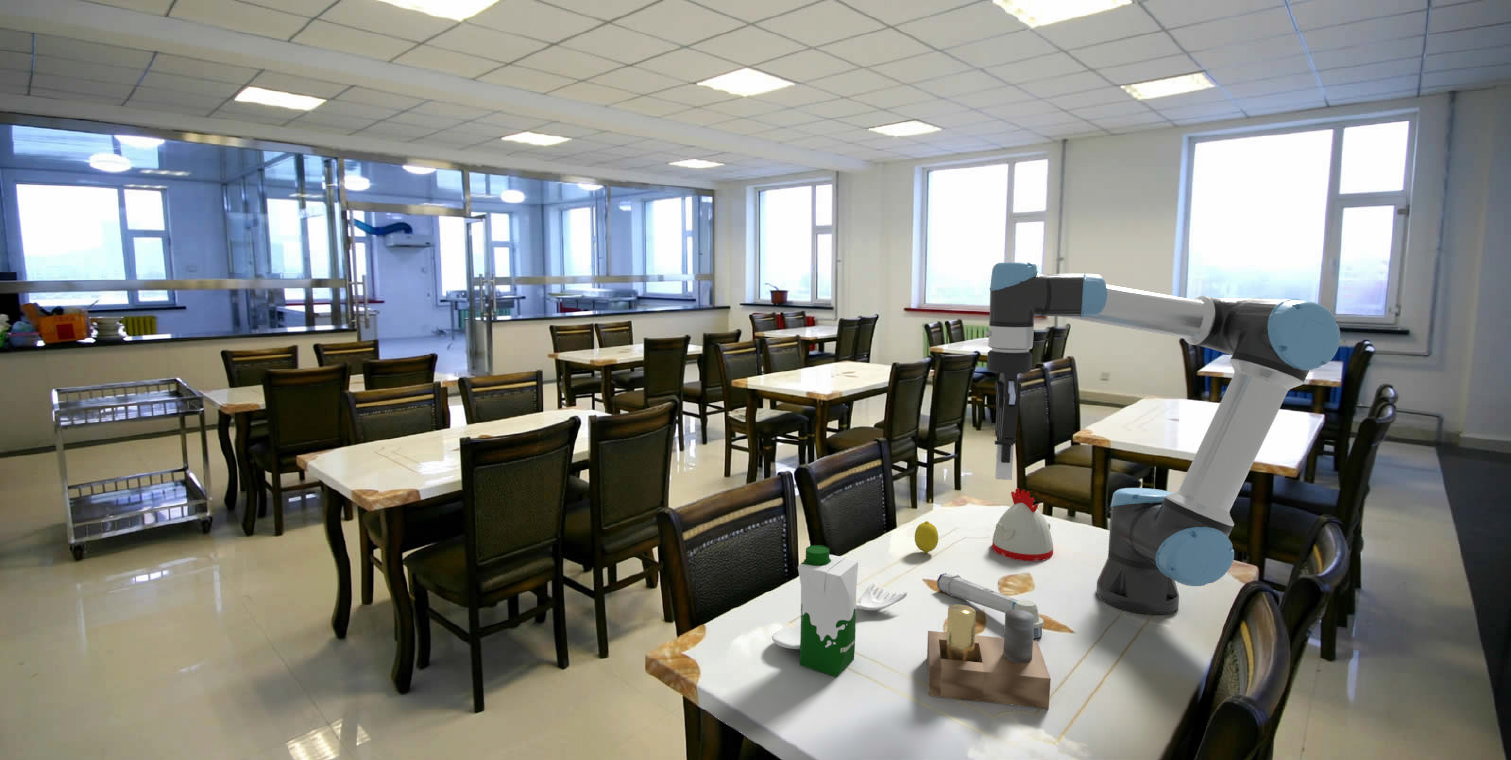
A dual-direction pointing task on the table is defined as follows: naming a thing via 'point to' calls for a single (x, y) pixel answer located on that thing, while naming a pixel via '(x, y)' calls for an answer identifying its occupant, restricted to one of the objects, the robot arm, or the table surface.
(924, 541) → the lemon
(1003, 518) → the kitchen timer
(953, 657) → the gold cylinder
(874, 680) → the table surface
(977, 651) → the jig
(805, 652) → the milk carton
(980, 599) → the grey bent pipe
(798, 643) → the white spork
